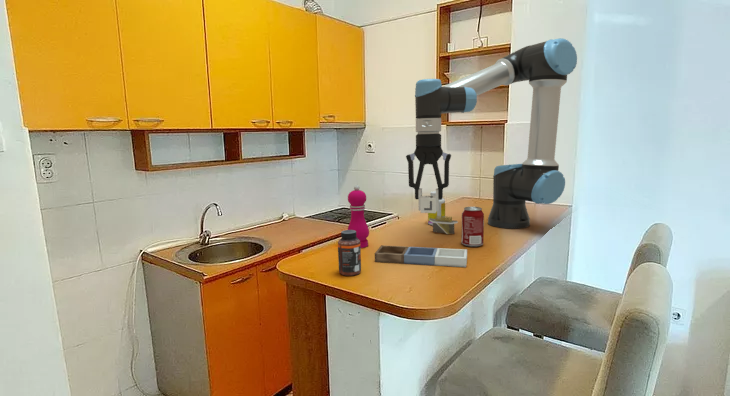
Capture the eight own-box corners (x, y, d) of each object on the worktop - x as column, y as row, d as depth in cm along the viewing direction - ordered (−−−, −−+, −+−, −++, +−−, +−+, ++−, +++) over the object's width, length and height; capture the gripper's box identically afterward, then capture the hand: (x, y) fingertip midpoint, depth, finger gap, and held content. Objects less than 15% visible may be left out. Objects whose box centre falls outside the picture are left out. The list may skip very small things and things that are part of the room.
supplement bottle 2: (442, 222, 163) (443, 190, 161) (447, 225, 156) (447, 193, 154) (426, 222, 162) (426, 191, 160) (429, 226, 156) (429, 193, 154)
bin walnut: (408, 254, 122) (408, 246, 121) (403, 263, 114) (403, 255, 113) (381, 253, 124) (381, 245, 124) (374, 261, 116) (374, 253, 116)
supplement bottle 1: (364, 275, 106) (362, 232, 104) (341, 277, 104) (340, 235, 102) (357, 267, 112) (356, 227, 110) (336, 270, 110) (335, 229, 108)
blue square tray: (437, 256, 119) (437, 248, 119) (434, 265, 111) (434, 256, 111) (409, 254, 122) (408, 246, 121) (404, 263, 114) (404, 255, 113)
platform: (463, 241, 136) (463, 222, 135) (413, 236, 144) (412, 218, 143) (472, 233, 146) (472, 215, 145) (424, 228, 155) (424, 211, 154)
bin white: (467, 257, 117) (467, 249, 117) (466, 267, 109) (466, 258, 109) (437, 256, 119) (437, 248, 119) (434, 265, 111) (434, 256, 111)
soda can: (484, 248, 126) (484, 210, 124) (461, 247, 127) (462, 210, 125) (482, 242, 132) (483, 206, 131) (461, 241, 134) (461, 206, 132)
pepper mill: (356, 241, 138) (354, 183, 135) (373, 244, 134) (372, 184, 130) (343, 246, 132) (340, 186, 129) (361, 250, 128) (359, 187, 125)
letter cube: (436, 210, 126) (436, 195, 125) (435, 213, 122) (435, 198, 121) (422, 209, 127) (422, 195, 127) (420, 212, 123) (420, 197, 122)
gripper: (397, 134, 120) (398, 211, 123) (457, 132, 115) (457, 213, 119) (401, 133, 127) (402, 207, 130) (459, 132, 122) (458, 208, 126)
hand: (428, 209), depth 125 cm, fingers closed on letter cube, 4 cm apart
